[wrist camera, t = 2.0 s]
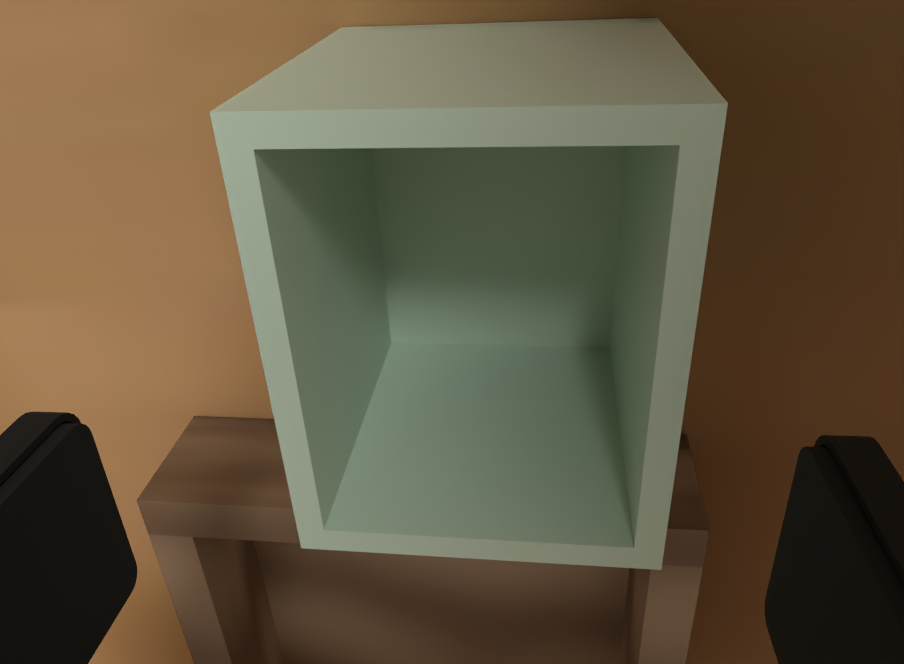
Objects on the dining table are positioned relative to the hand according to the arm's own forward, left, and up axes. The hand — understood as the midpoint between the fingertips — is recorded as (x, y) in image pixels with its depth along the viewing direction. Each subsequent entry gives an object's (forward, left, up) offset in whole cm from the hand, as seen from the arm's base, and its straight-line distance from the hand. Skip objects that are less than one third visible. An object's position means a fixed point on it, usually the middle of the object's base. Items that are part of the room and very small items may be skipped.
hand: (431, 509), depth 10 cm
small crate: (-1, 0, -9) cm, 9 cm away
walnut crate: (+12, -2, -9) cm, 15 cm away
